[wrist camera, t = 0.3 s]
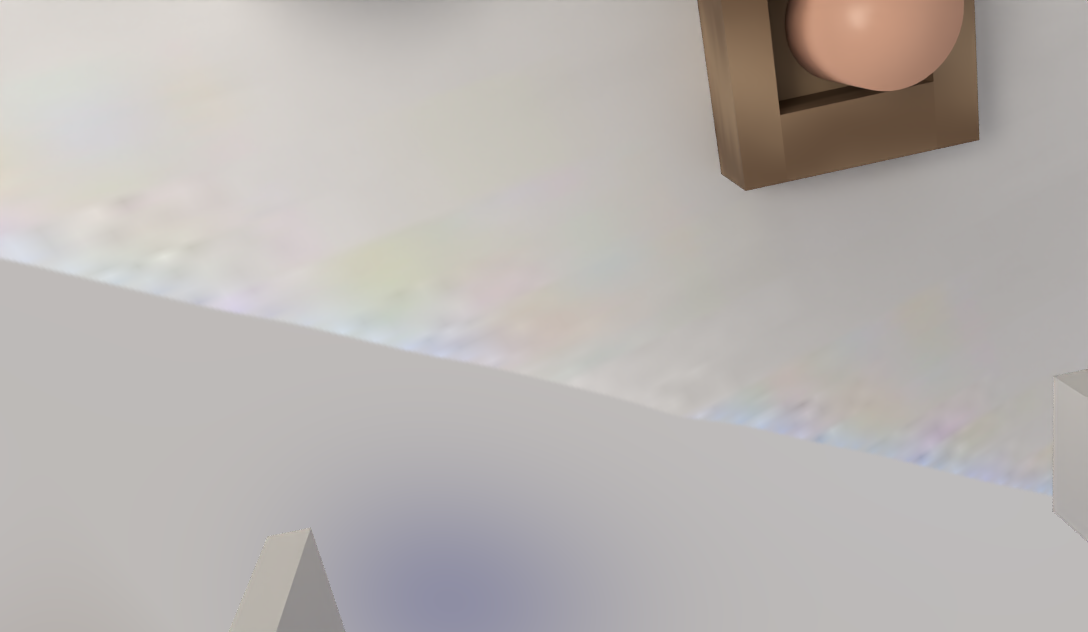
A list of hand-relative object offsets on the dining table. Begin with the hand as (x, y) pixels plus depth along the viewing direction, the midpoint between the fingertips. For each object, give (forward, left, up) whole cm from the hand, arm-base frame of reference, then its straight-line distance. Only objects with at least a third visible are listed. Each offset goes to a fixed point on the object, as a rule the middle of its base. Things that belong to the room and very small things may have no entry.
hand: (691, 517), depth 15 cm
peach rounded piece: (-6, +12, -23) cm, 27 cm away
